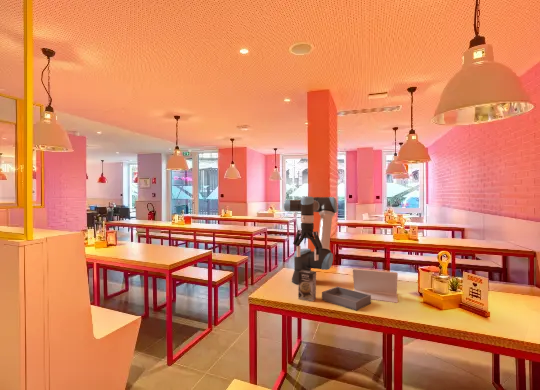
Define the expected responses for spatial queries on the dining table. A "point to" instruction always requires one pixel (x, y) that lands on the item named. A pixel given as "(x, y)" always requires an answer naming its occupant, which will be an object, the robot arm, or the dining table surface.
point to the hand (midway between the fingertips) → (307, 258)
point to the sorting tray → (346, 298)
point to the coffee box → (307, 285)
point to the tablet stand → (376, 284)
